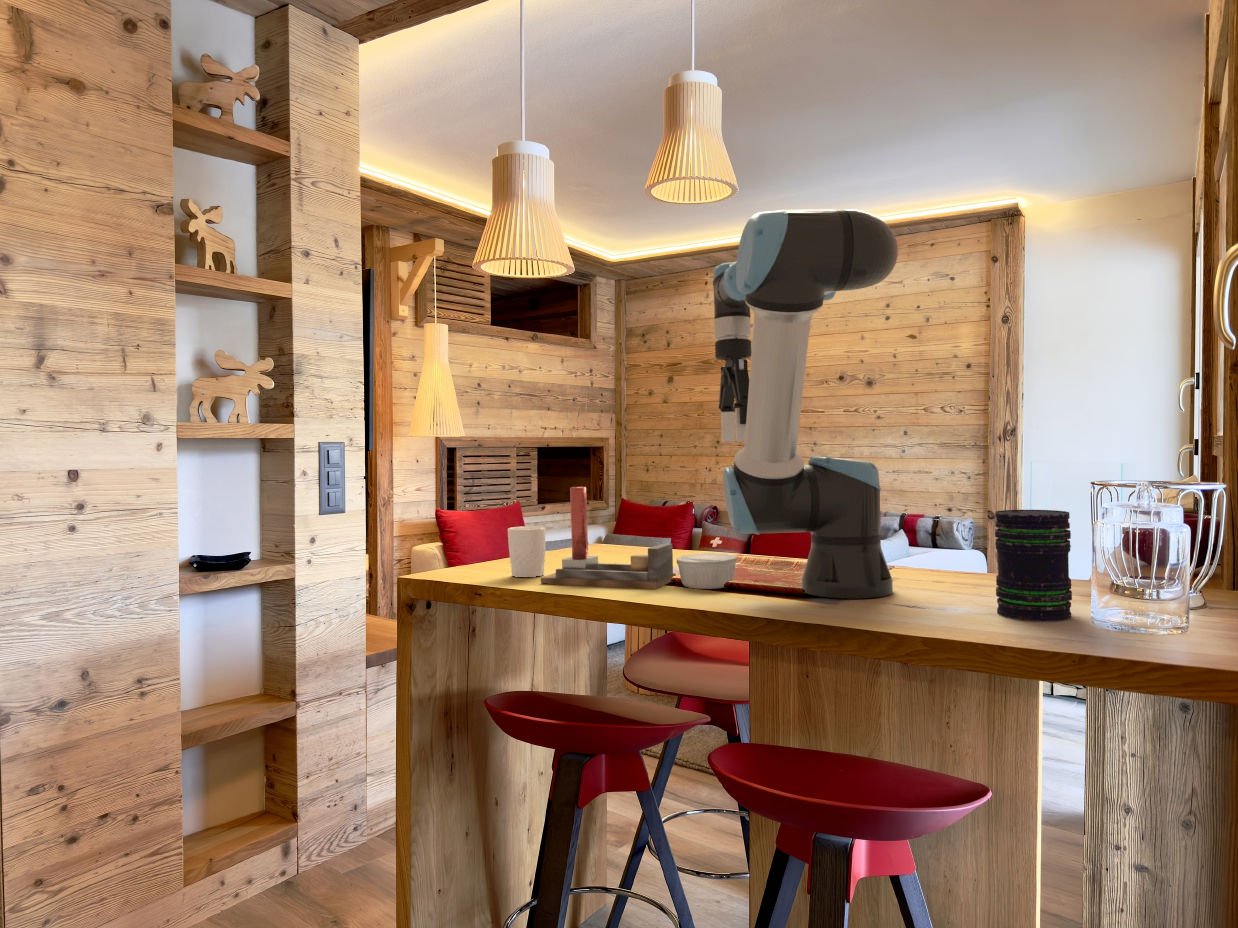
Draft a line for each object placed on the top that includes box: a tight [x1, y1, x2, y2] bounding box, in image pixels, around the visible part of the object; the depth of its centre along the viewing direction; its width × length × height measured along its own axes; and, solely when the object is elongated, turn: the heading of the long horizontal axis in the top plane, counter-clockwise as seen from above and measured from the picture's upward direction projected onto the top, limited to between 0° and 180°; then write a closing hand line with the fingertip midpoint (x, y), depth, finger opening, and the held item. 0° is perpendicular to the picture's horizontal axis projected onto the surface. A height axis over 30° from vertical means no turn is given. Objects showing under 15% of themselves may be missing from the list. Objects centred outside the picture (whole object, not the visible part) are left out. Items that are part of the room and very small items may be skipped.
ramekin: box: [676, 552, 738, 590], centre depth 151 cm, size 11×11×5 cm
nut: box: [630, 554, 648, 572], centre depth 154 cm, size 4×4×4 cm
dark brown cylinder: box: [994, 509, 1073, 623], centre depth 117 cm, size 10×10×15 cm
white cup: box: [507, 525, 547, 578], centre depth 168 cm, size 8×8×10 cm
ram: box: [561, 486, 599, 570], centre depth 159 cm, size 5×6×17 cm
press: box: [540, 543, 677, 590], centre depth 157 cm, size 24×11×7 cm, turn 67°
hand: (735, 441), depth 168 cm, fingers open, 13 cm apart
